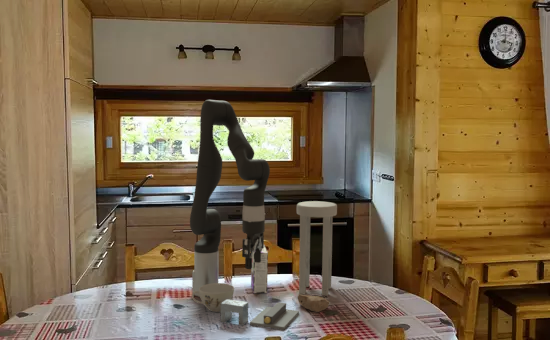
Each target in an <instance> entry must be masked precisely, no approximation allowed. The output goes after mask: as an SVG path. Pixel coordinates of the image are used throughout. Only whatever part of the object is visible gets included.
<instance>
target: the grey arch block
mask: <svg viewBox="0 0 550 340" xmlns="http://www.w3.org/2000/svg"><path fill="white" fill-rule="evenodd" d="M232 313H236V314H238V325H239V326H244V325H246V324H247V322H248V321H249V302H248V301H241V300H236V299H235V300H234V299H232V300H229V299H226V300H225V301H224V302H222V303H221V311H220V323H223V324H224V323H225V324H226V323H227V322H228V321H230V319H231V316H232V315H231V314H232Z"/></svg>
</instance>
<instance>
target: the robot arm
mask: <svg viewBox="0 0 550 340" xmlns="http://www.w3.org/2000/svg"><path fill="white" fill-rule="evenodd" d="M214 126H220V127H221V126H224V127H225V128H226V129H227V130H228V135H227V139H226V140H227V142H226V144H227V147H228V150H229V152H230V154H231V155H232V157H234V159H235V164H236V170H237V172H238V176H239V177H240V179H242V180H243V181H250V182H251V181H254V183H253V184H252V185H251V186H249V187H246V188H244V190H243V193H242V194H243V196H242V197H243V198H242V199H243V202H242V204H243V205H242V215H241V217H242V218H241V220H242V225H241V226H242V229H241V230H242V233H244V234H246V238H243V239H242V244H241V245H242V246H241V247H242V249H241V251H242V252H241V255H242V258H244V259H245V261H244V263H245V264H244V266H245V267H244V268H245V269H246V270H251V269H252V256H253V252H254V262H256V263H260V262H261V251H262V249H263V248H264V245H265V243H264V240H265V239H264V235H265V229H266V228H265V227H266V226H265V224H266V218H265V217H266V215H265V214H266V213H265V211H266V210H265V192H266V189H267V185H268V180H269V176H270V174H271V170H270V165H269V162H268V161H267V160H266V159H263V158H259V159H258V158H255V159H254V157H255V151H254V148H253V147H252V145H251V143H250V142H249V140H248V139H247V137H246V136H245V134H244V132H243V130H242V127H241V124H240V122H239V119H238V117H237V115H236V112H235V109H234V107H233V106H232V104H231V103H230V102H228V101H226V100H216V99H206V100H205V101H204V102H202V105H201V110H200V126H199V127H200V128H199V129H200V131H199V132H200V133H199V134H200V135H199V137H200V138H199V148H198V149H199V150H198V159H197V168H196V180H195V189H194V196H193V200H192V206H191V210H190V217H189V227H190V230H191V232H192V233H193V235H196V236H200V235H203V236H202V237H201V238H200V239H199V240H198V241H196V242H195V243H194V246H193V247H194V255H193V256H194V270H192V273H191V274H192V280H191V281H192V283H191V285H192V288H191V289H192V290H191V292H192V293H193V292H194V291H199V288H200V287H202V286H203V285H206V284H214V283H219V247H220V245H221V235H222V220H221V219H222V217H221V214H220V212H219V211H218V210H217V209H214V208H208V206H209V205H208V204H209V201H210V199H211V197H212V195H213V193H214V191H215V190H216V188H217V186H218V185H219V183H220V181H221V177H222V172H223V171H222V170H223V158H222V156H221V153H220V150H219V149H218V147H217V145H216V142H215V139H214ZM194 297H199V298H200V296H199V295H198V294H195V295H194Z"/></svg>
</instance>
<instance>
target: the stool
mask: <svg viewBox="0 0 550 340" xmlns="http://www.w3.org/2000/svg"><path fill="white" fill-rule="evenodd" d="M296 214H297V215H298V216H299V263H298V265H299V267H298V269H299V271H298V274H299V277H298V278H299V279H298V283H299V284H298V294H301V295H305V294H306V293H307V288H309V287H310V275H311V274H310V269H311V267H310V264H311V263H310V262H311V261H310V260H311V259H310V257H311V218H322V259H321V260H322V261H321V262H322V264H321V265H322V266H321V268H322V270H321V295H322V296H326V297H327V296H329V289H331V288H332V262H333V261H332V259H333V258H332V257H333V256H332V255H333V217H335V216H337V215H338V205H337V203H335V202H330V201H318V200H313V201H312V200H309V201H302V202H301V201H300V202H298V203H297V204H296Z"/></svg>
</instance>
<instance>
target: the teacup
mask: <svg viewBox="0 0 550 340" xmlns="http://www.w3.org/2000/svg"><path fill="white" fill-rule="evenodd" d="M234 292H235V287H234V286H233V285H232V284H228V283H223V282H221V283H220V282H218V283H214V284H206V285H203V286H202V287H200V288H199V291H194V292H193V293H192V294H191V297H192V300H193V301H194V302H195V303H197V304H201V305H204V307H206V308H207V309H208V310H209V311H210V312H214V313H215V312H216V313H221V303H222V302H224V301H225V300H226V299H229V300H233V296H234ZM195 294H198V295H199V296H200V297H199V298H200V300H201V301H200V300H198V299H196V298H195Z"/></svg>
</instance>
